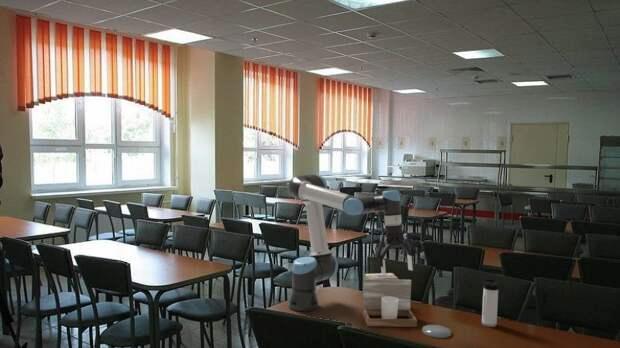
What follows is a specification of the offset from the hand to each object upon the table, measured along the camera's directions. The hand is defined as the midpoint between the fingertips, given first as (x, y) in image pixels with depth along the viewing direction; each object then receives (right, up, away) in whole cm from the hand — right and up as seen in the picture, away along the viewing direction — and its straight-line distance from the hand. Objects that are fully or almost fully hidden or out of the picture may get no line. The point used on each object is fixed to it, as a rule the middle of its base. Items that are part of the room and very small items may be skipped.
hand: (397, 272), depth 209 cm
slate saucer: (+15, -24, -8) cm, 30 cm away
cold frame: (-3, -23, +5) cm, 24 cm away
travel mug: (+42, -25, +3) cm, 49 cm away
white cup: (-3, -23, +5) cm, 24 cm away
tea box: (-3, -22, +26) cm, 35 cm away
